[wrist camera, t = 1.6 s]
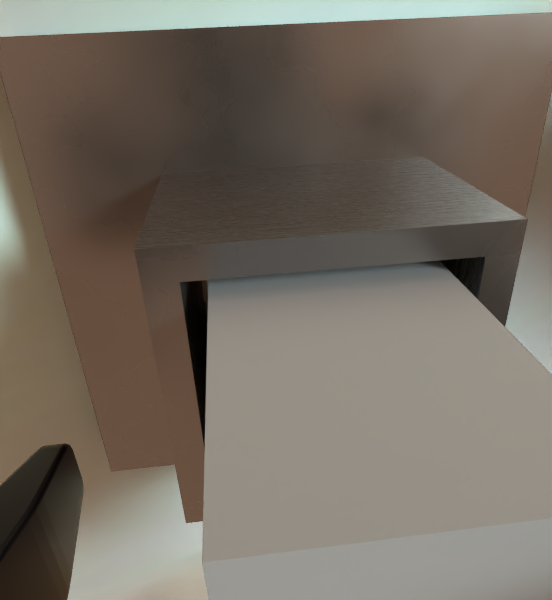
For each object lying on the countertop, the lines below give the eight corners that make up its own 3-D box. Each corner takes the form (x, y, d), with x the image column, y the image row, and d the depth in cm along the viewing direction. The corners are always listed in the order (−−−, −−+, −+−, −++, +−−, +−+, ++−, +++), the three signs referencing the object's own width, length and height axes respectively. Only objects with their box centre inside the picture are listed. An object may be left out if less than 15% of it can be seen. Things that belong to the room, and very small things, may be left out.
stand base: (466, 409, 17) (579, 577, 12) (116, 447, 16) (70, 648, 11) (541, 13, 12) (820, -3, 6) (9, 37, 11) (-197, 42, 5)
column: (375, 348, 14) (567, 724, 6) (223, 362, 14) (236, 779, 6) (384, 200, 12) (684, 498, 4) (207, 213, 12) (195, 558, 4)
